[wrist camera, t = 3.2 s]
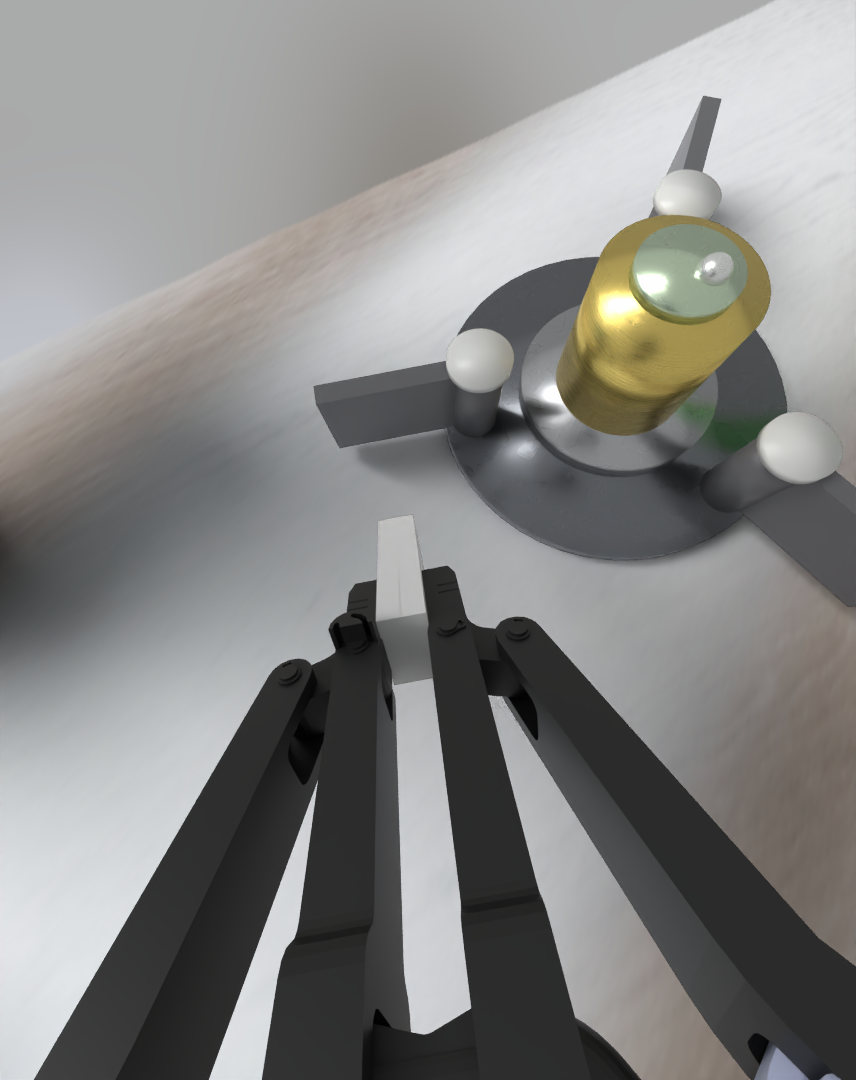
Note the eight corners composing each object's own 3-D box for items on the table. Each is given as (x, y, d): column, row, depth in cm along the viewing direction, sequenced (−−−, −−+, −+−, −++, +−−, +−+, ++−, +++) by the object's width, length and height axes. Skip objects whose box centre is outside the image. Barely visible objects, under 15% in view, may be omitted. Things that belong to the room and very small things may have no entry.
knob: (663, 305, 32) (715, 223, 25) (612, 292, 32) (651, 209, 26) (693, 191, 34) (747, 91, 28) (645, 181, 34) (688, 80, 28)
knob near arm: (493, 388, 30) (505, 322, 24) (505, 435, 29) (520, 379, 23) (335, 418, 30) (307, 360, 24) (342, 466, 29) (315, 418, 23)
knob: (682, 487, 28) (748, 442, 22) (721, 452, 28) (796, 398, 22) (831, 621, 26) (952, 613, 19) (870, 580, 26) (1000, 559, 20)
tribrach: (377, 390, 32) (337, 243, 21) (600, 219, 35) (676, 7, 24) (611, 635, 27) (737, 627, 15) (848, 411, 30) (1103, 261, 18)
